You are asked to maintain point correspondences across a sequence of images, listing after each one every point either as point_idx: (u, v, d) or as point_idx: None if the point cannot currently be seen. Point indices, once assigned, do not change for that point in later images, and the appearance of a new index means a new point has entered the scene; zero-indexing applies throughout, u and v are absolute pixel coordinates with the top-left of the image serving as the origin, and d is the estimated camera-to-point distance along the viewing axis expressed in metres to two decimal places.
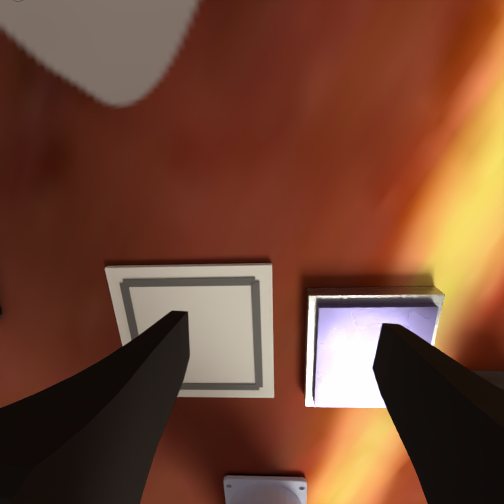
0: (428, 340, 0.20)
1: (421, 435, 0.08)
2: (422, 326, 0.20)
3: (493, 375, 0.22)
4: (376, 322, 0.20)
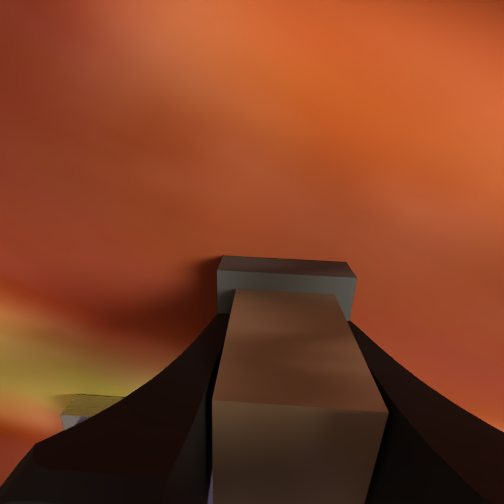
0: None
1: None
2: None
3: None
4: None
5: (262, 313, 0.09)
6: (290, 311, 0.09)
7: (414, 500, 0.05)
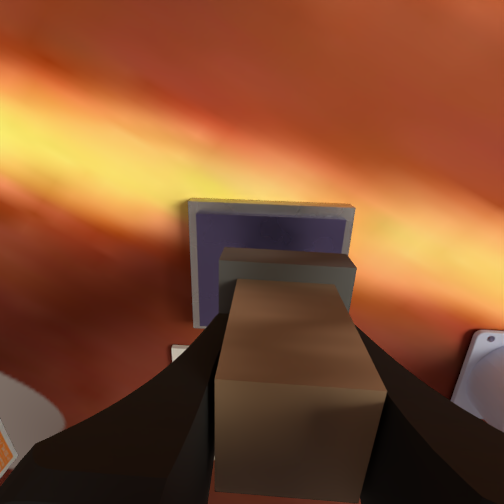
0: (240, 219, 0.17)
1: None
2: (221, 227, 0.17)
3: None
4: (216, 274, 0.18)
5: (263, 301, 0.09)
6: (291, 299, 0.10)
7: (414, 500, 0.05)
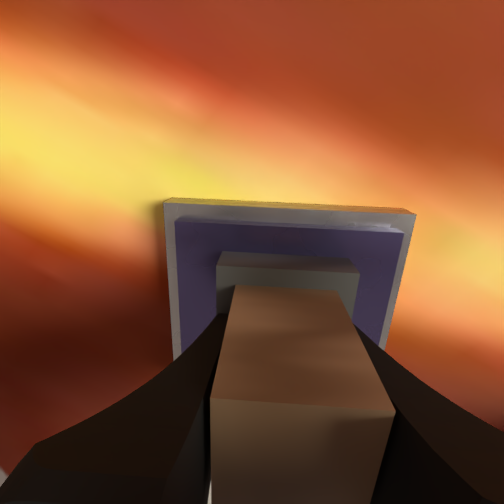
0: (241, 230, 0.11)
1: None
2: (212, 242, 0.12)
3: None
4: (205, 310, 0.13)
5: (262, 309, 0.09)
6: (291, 307, 0.09)
7: (414, 500, 0.05)
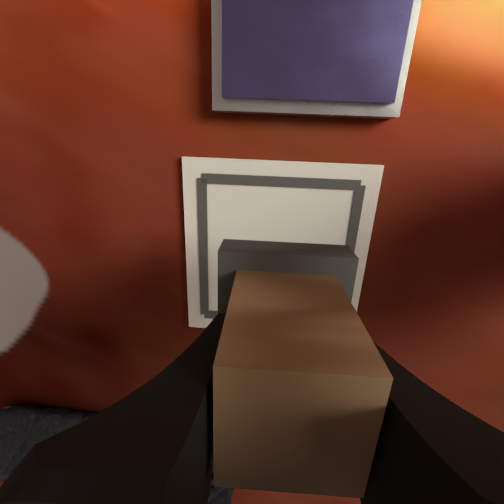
0: None
1: None
2: None
3: None
4: (246, 3, 0.14)
5: (263, 291, 0.09)
6: (291, 289, 0.09)
7: (414, 500, 0.05)
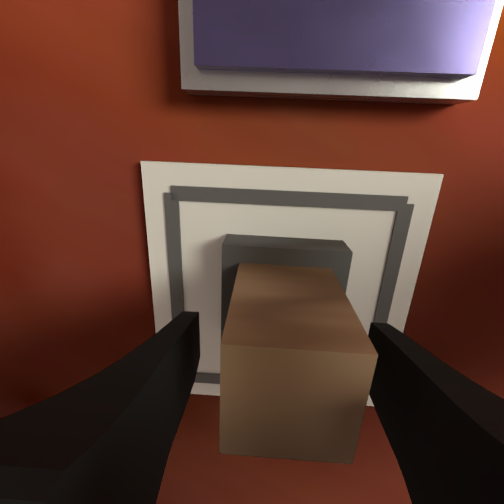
0: None
1: (406, 434, 0.08)
2: None
3: None
4: None
5: (264, 281, 0.10)
6: (290, 280, 0.10)
7: None
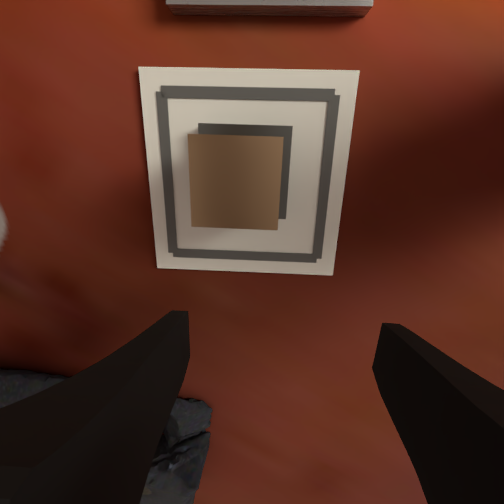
0: None
1: (421, 435, 0.08)
2: None
3: None
4: None
5: None
6: None
7: None
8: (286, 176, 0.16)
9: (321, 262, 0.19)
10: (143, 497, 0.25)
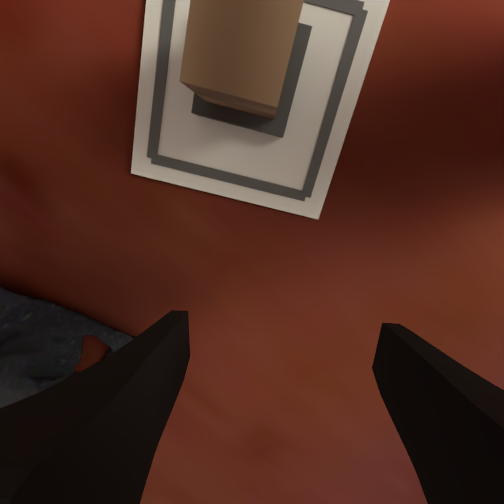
0: None
1: (421, 435, 0.08)
2: None
3: None
4: None
5: None
6: None
7: None
8: (293, 86, 0.15)
9: (309, 202, 0.18)
10: None
